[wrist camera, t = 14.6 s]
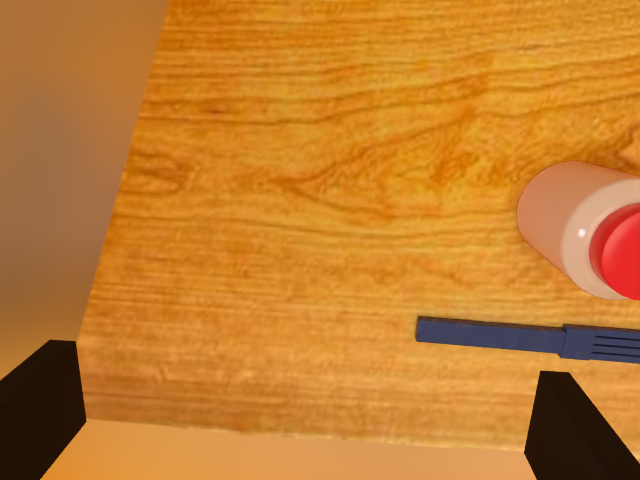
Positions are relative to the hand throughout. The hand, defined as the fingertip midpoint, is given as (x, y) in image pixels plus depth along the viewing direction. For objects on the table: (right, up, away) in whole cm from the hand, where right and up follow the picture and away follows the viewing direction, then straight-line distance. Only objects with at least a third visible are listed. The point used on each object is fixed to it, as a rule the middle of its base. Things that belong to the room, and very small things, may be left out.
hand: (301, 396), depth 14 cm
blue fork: (+19, -4, +26) cm, 33 cm away
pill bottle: (+20, +7, +23) cm, 31 cm away
